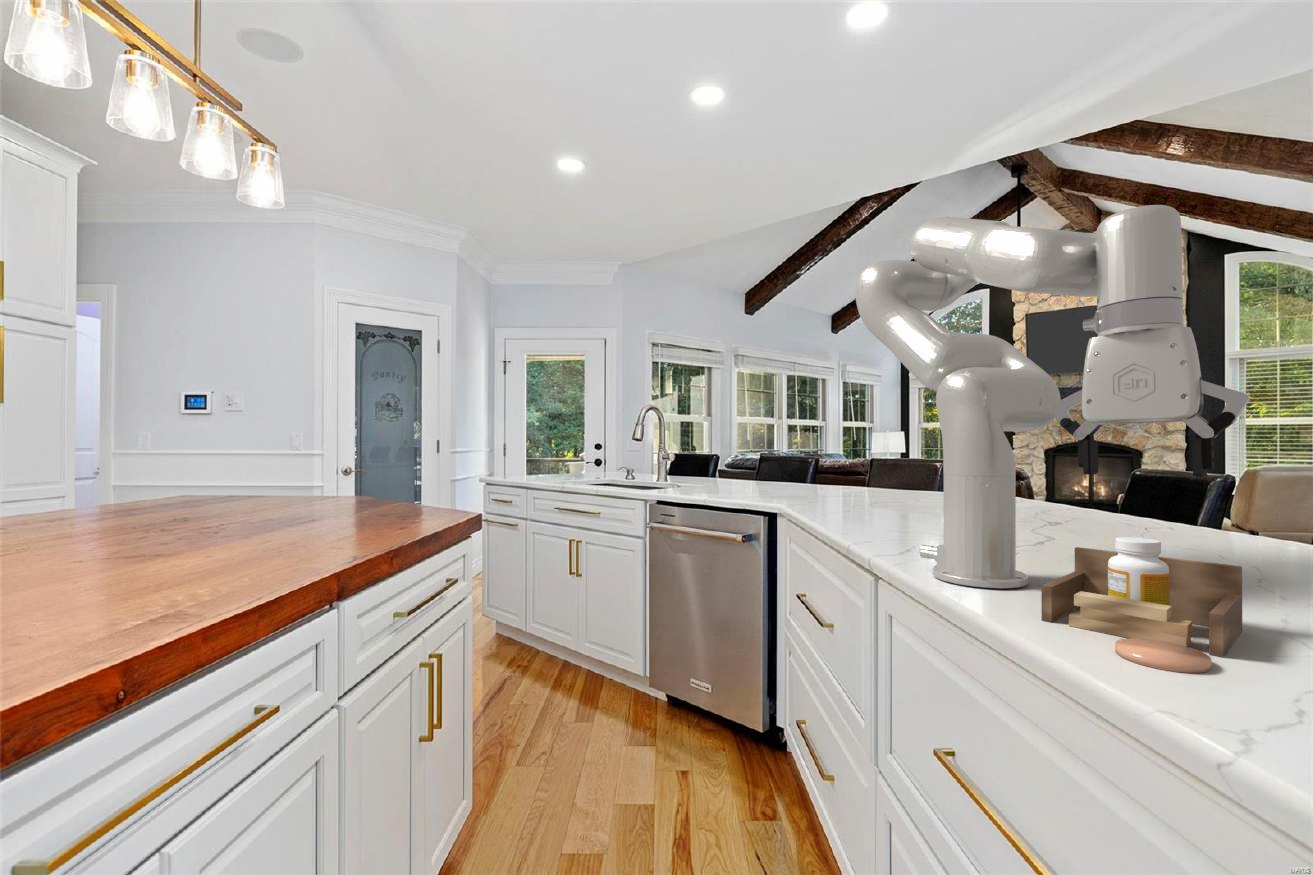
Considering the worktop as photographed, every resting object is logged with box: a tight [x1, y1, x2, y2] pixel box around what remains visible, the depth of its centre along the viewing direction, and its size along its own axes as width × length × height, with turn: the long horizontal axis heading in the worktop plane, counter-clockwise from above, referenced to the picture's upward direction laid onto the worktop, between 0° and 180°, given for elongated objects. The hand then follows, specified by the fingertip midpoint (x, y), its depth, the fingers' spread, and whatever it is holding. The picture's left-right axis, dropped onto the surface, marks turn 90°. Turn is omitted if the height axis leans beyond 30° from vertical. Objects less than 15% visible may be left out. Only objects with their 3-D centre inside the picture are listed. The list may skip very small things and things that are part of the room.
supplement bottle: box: [1108, 536, 1170, 606], centre depth 68 cm, size 5×5×10 cm
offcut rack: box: [1041, 546, 1243, 658], centre depth 68 cm, size 15×13×7 cm
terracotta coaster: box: [1114, 638, 1212, 674], centre depth 57 cm, size 7×7×1 cm
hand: (1142, 475), depth 67 cm, fingers open, 9 cm apart
